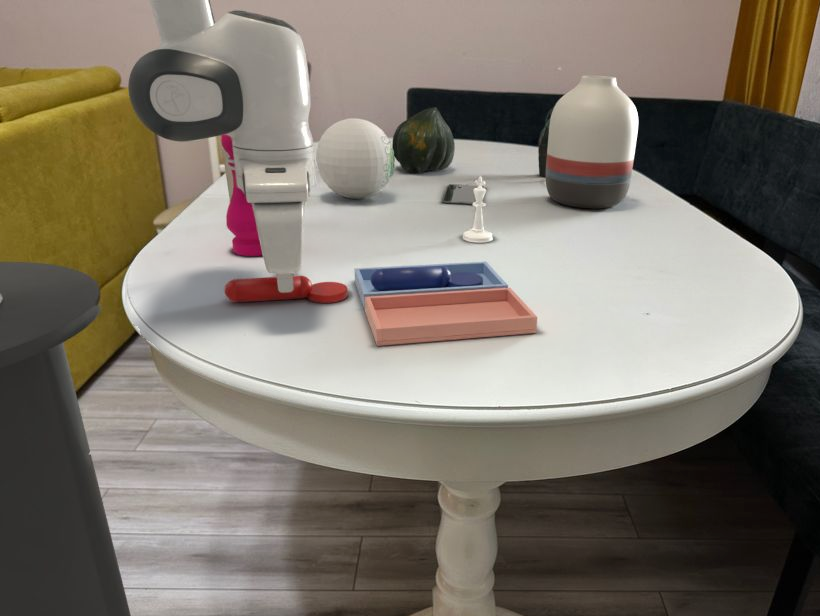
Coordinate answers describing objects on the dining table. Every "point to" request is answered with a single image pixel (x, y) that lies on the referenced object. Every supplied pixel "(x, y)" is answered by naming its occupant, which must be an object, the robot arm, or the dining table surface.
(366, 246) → the dining table surface
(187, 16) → the robot arm
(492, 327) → the red tray
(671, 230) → the dining table surface
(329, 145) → the decorative object
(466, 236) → the chess piece
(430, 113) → the squash
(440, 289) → the blue tray
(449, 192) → the smartphone
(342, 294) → the red spoon
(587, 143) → the vase
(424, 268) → the blue spoon
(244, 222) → the pepper mill
